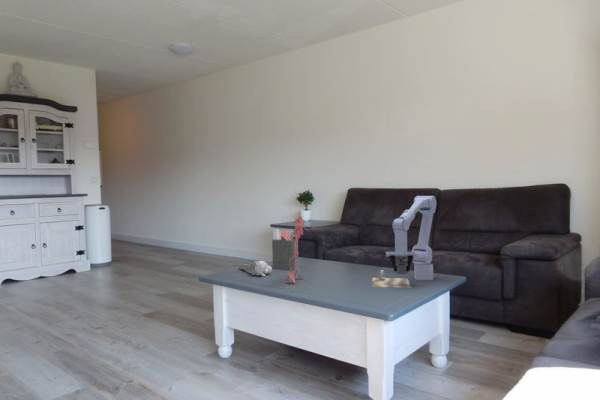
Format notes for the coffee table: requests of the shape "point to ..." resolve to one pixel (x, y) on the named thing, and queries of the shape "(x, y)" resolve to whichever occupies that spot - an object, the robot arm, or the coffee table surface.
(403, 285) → the board
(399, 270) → the ring
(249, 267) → the wrench
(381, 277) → the post
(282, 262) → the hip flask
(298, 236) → the figurine
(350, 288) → the coffee table surface
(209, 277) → the coffee table surface
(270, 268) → the white lumpy shape
